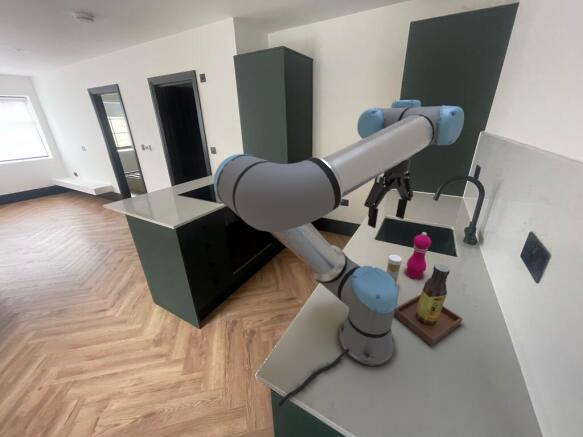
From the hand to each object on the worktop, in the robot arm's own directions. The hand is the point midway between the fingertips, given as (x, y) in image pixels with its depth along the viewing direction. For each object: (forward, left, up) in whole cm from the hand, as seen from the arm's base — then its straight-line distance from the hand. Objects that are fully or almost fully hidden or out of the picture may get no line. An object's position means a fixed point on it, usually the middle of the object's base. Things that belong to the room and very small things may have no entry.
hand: (386, 221), depth 78 cm
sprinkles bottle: (+6, -2, -29) cm, 30 cm away
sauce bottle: (+3, -19, -28) cm, 34 cm away
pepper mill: (+21, -2, -29) cm, 36 cm away
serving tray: (+3, -19, -29) cm, 35 cm away
